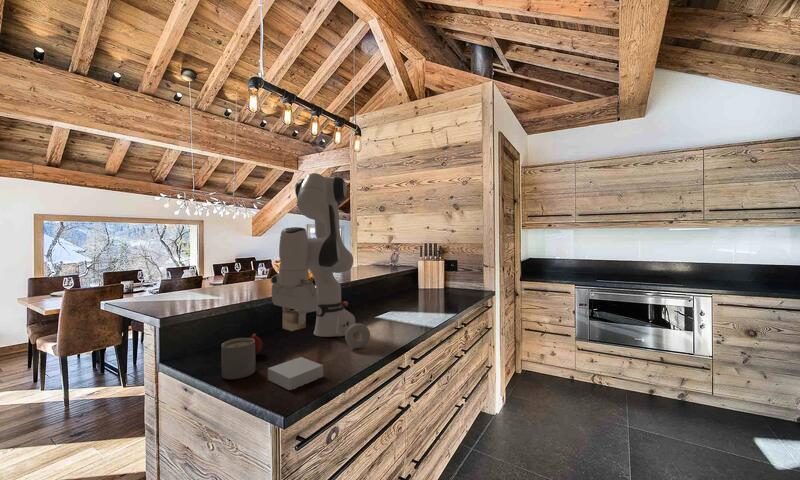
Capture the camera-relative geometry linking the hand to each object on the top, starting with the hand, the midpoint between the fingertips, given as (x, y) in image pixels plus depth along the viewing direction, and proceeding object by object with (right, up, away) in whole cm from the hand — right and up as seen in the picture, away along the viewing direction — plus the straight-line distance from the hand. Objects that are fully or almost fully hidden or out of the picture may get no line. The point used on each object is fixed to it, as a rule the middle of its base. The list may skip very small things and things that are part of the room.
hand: (294, 322), depth 102 cm
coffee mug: (-20, -18, +6) cm, 28 cm away
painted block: (0, -18, 0) cm, 18 cm away
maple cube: (0, -2, 0) cm, 2 cm away
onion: (-22, -18, +20) cm, 35 cm away
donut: (+17, -17, +27) cm, 36 cm away
